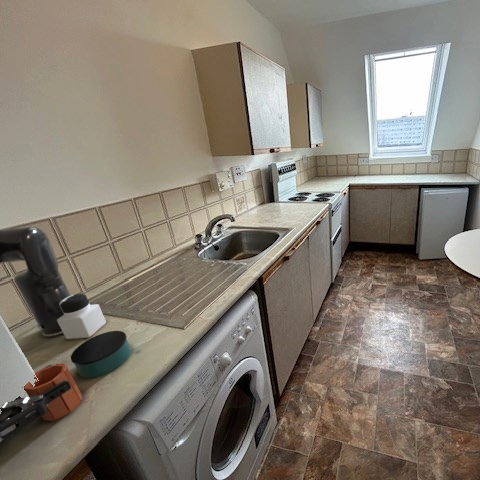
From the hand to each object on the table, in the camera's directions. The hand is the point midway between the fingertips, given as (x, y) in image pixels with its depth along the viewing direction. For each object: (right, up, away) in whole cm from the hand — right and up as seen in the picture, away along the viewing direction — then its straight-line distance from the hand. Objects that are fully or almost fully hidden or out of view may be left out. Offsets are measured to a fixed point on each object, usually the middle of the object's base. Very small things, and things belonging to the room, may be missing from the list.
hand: (61, 375), depth 57 cm
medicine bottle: (-17, +1, +25) cm, 30 cm away
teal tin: (-1, -3, +13) cm, 13 cm away
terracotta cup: (0, -7, +1) cm, 7 cm away
